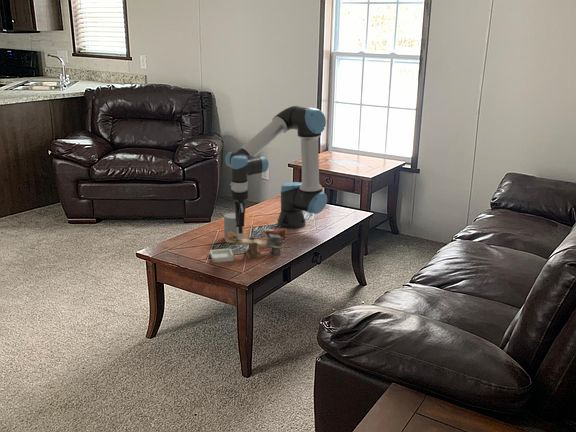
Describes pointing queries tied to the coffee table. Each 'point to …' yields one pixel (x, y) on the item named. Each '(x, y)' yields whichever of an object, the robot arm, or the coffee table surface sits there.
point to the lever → (272, 241)
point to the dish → (222, 255)
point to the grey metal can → (230, 223)
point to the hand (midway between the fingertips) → (240, 238)
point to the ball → (230, 235)
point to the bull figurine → (275, 232)
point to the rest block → (276, 251)
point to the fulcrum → (253, 250)
